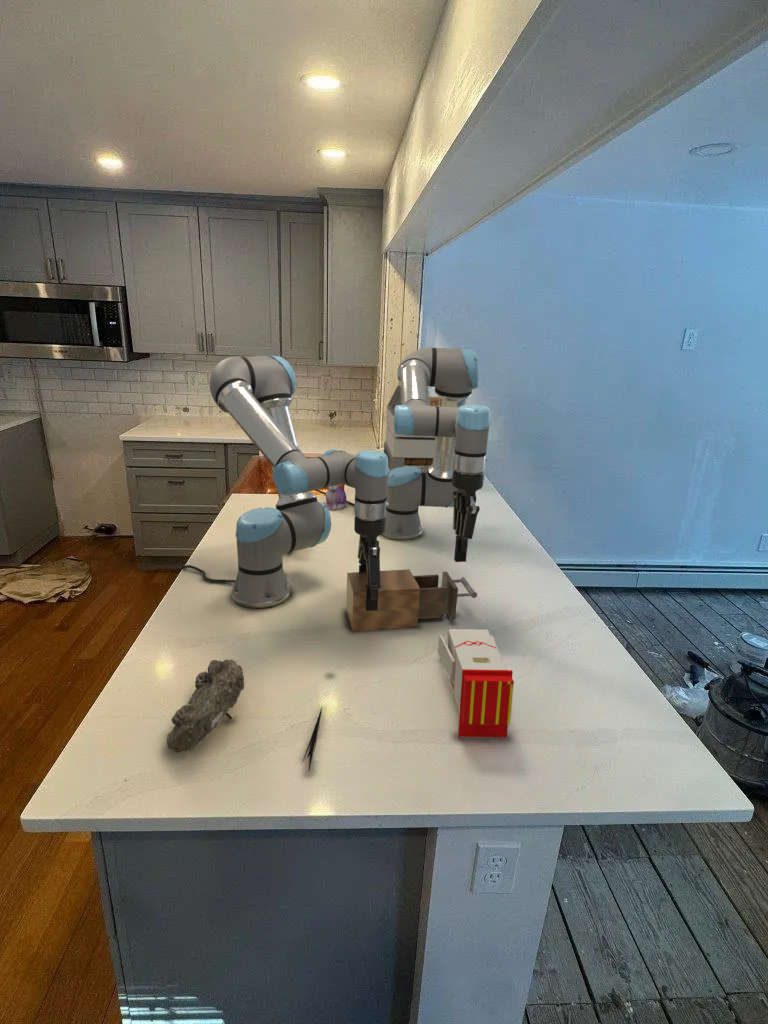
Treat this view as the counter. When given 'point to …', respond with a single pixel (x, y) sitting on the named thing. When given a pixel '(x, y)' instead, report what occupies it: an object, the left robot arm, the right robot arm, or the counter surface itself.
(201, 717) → the fossil
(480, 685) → the toy
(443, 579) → the drawer
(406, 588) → the cabinet
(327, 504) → the figurine
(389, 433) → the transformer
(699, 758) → the counter surface
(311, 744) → the feather
